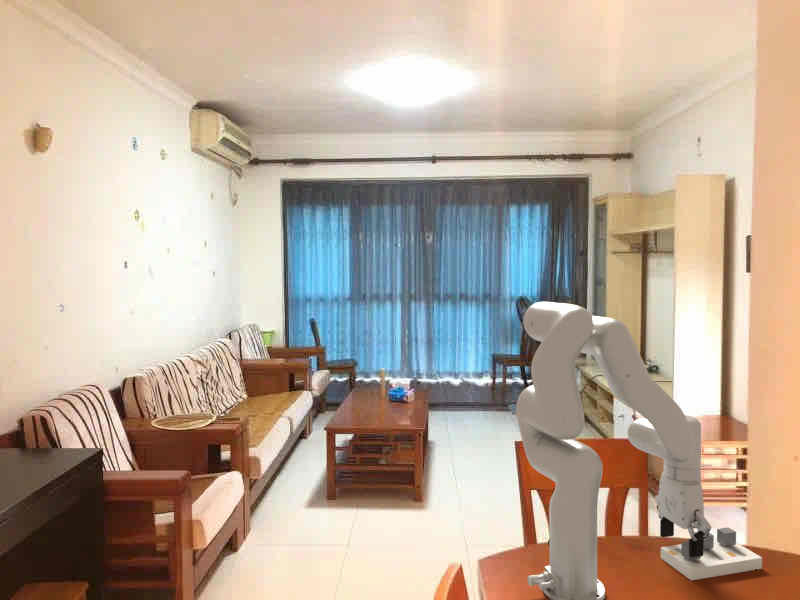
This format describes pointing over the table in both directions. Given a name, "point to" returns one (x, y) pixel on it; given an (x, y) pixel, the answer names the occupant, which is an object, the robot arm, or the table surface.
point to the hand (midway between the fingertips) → (681, 545)
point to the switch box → (712, 561)
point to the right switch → (726, 536)
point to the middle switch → (708, 541)
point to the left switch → (686, 551)
